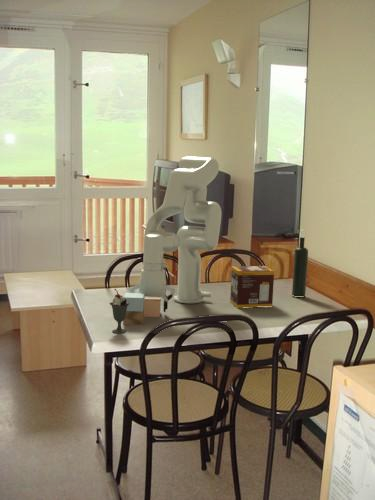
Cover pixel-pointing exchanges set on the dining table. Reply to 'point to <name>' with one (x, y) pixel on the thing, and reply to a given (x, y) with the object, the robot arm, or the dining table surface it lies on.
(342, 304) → the dining table surface
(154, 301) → the cube
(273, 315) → the dining table surface
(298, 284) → the wine bottle
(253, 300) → the supplement box
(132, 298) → the block top
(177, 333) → the dining table surface
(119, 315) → the sundae
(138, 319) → the block bottom
